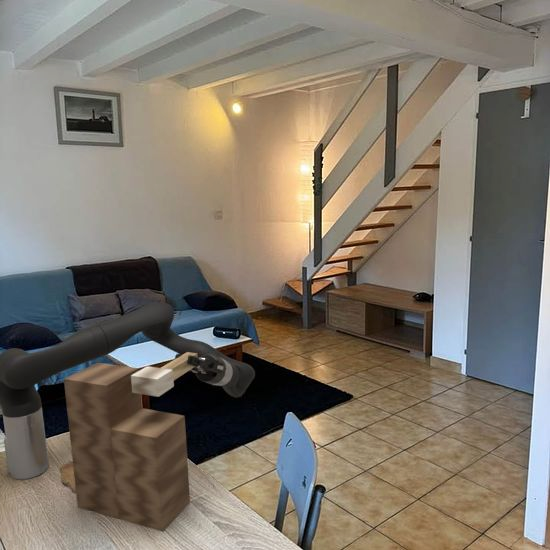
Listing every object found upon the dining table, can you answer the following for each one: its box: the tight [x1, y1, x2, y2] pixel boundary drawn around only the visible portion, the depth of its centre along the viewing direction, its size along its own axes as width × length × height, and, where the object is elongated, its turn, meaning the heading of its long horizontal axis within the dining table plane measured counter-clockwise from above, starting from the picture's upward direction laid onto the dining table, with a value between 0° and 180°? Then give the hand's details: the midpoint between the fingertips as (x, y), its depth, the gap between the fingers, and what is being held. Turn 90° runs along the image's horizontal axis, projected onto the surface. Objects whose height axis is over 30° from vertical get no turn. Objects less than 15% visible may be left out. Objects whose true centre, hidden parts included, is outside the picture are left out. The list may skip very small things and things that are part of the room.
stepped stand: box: [63, 362, 191, 532], centre depth 120 cm, size 24×11×32 cm, turn 67°
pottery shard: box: [59, 460, 76, 494], centre depth 135 cm, size 8×16×2 cm, turn 28°
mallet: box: [131, 352, 198, 398], centre depth 123 cm, size 7×20×4 cm, turn 157°
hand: (182, 358), depth 128 cm, fingers closed on mallet, 3 cm apart
